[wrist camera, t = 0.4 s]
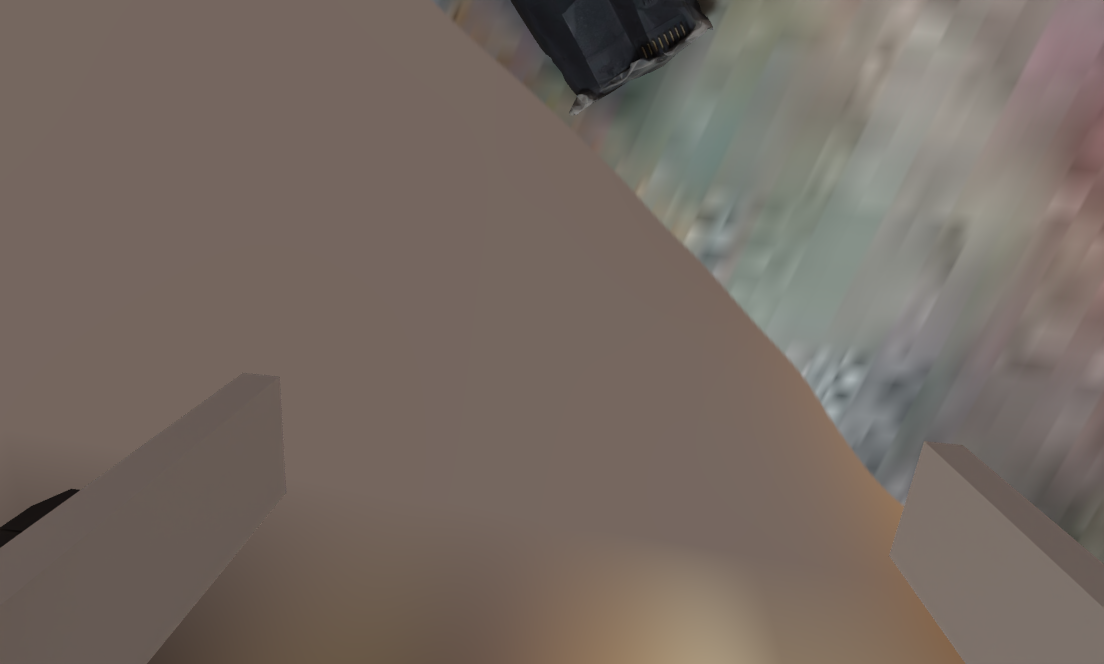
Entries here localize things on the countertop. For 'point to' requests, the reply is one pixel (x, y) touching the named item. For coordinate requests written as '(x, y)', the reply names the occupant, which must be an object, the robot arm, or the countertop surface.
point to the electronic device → (610, 39)
